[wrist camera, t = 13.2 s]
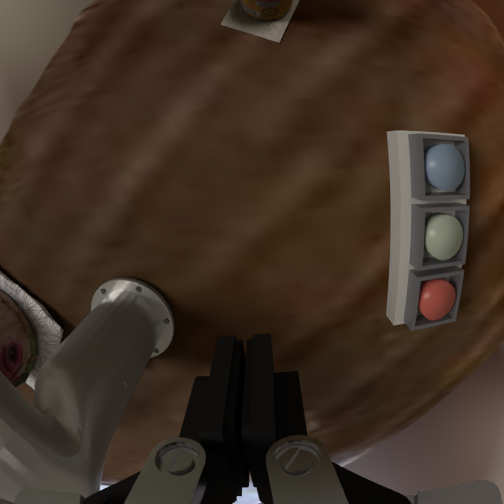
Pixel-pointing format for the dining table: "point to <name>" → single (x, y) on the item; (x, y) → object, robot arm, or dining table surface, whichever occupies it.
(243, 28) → the condiment
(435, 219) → the sage button
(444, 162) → the blue button
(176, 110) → the dining table surface
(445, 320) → the button housing
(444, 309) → the red button
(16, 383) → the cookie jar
